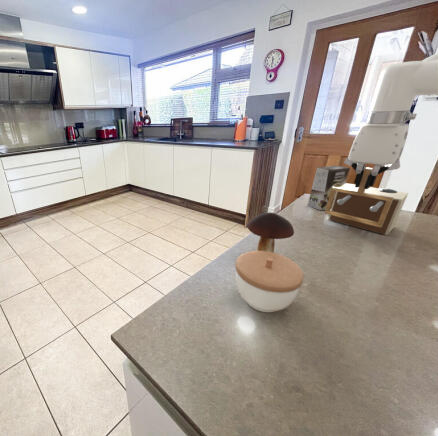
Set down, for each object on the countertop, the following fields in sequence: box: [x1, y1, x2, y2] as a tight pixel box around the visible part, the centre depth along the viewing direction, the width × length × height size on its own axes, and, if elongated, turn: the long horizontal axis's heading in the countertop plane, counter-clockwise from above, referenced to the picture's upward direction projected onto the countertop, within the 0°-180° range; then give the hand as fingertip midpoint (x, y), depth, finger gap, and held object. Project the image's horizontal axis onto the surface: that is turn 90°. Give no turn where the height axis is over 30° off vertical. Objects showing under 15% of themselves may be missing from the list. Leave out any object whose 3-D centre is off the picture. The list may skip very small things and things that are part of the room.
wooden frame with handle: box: [324, 167, 394, 227], centre depth 69 cm, size 14×1×16 cm, turn 36°
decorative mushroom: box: [246, 212, 295, 253], centre depth 61 cm, size 11×11×15 cm
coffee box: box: [307, 164, 351, 211], centre depth 93 cm, size 9×6×16 cm
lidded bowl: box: [234, 250, 305, 313], centre depth 50 cm, size 13×13×11 cm
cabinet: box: [327, 182, 409, 236], centre depth 77 cm, size 16×18×12 cm
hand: (362, 186), depth 68 cm, fingers closed on wooden frame with handle, 1 cm apart
